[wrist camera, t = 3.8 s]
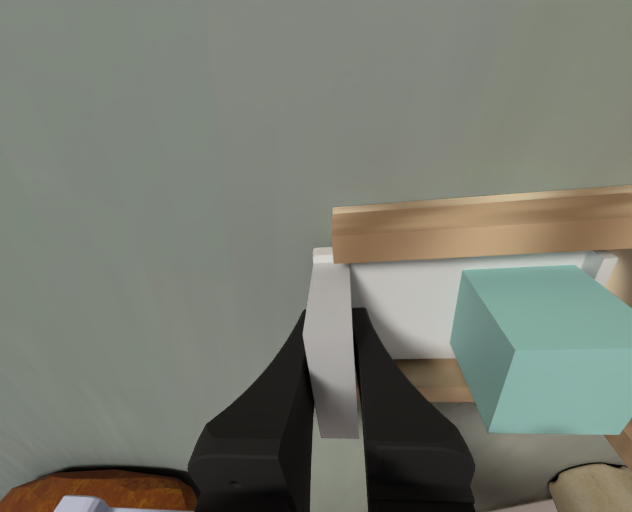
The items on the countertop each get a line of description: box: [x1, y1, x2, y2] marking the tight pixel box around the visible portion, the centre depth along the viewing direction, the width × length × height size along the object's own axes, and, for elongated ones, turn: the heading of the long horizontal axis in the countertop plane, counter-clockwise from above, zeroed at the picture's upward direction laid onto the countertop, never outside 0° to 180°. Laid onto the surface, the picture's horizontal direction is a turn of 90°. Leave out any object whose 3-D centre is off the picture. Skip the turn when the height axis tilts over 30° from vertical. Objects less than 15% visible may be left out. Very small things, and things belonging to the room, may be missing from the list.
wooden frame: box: [331, 185, 632, 472], centre depth 11 cm, size 18×10×8 cm, turn 96°
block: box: [450, 265, 632, 435], centre depth 12 cm, size 4×4×4 cm
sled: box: [303, 247, 618, 439], centre depth 12 cm, size 12×7×5 cm, turn 96°
